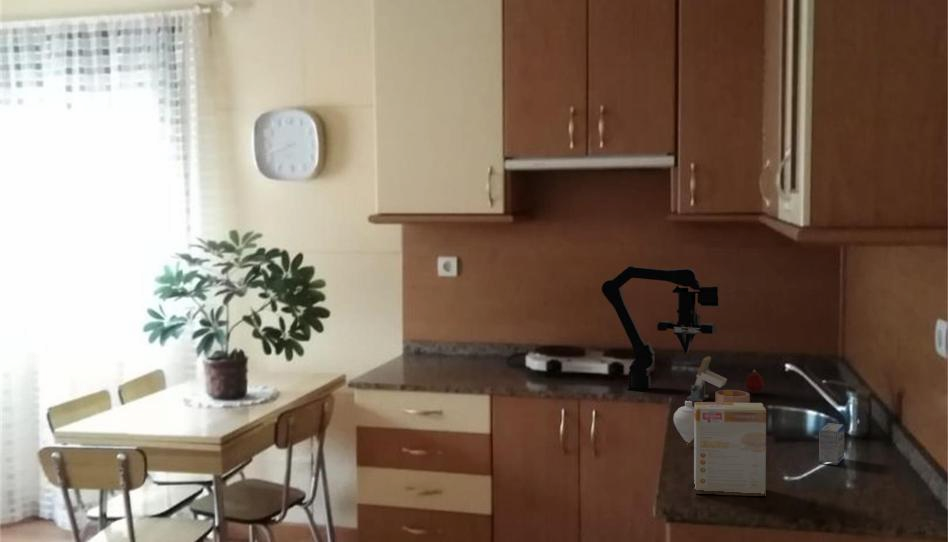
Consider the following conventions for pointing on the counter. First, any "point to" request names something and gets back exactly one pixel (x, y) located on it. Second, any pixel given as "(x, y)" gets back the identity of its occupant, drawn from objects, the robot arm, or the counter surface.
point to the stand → (697, 393)
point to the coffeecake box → (730, 447)
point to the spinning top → (685, 421)
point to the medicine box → (831, 443)
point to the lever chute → (708, 375)
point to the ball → (728, 393)
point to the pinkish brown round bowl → (733, 397)
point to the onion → (754, 382)
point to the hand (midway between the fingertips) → (686, 352)
